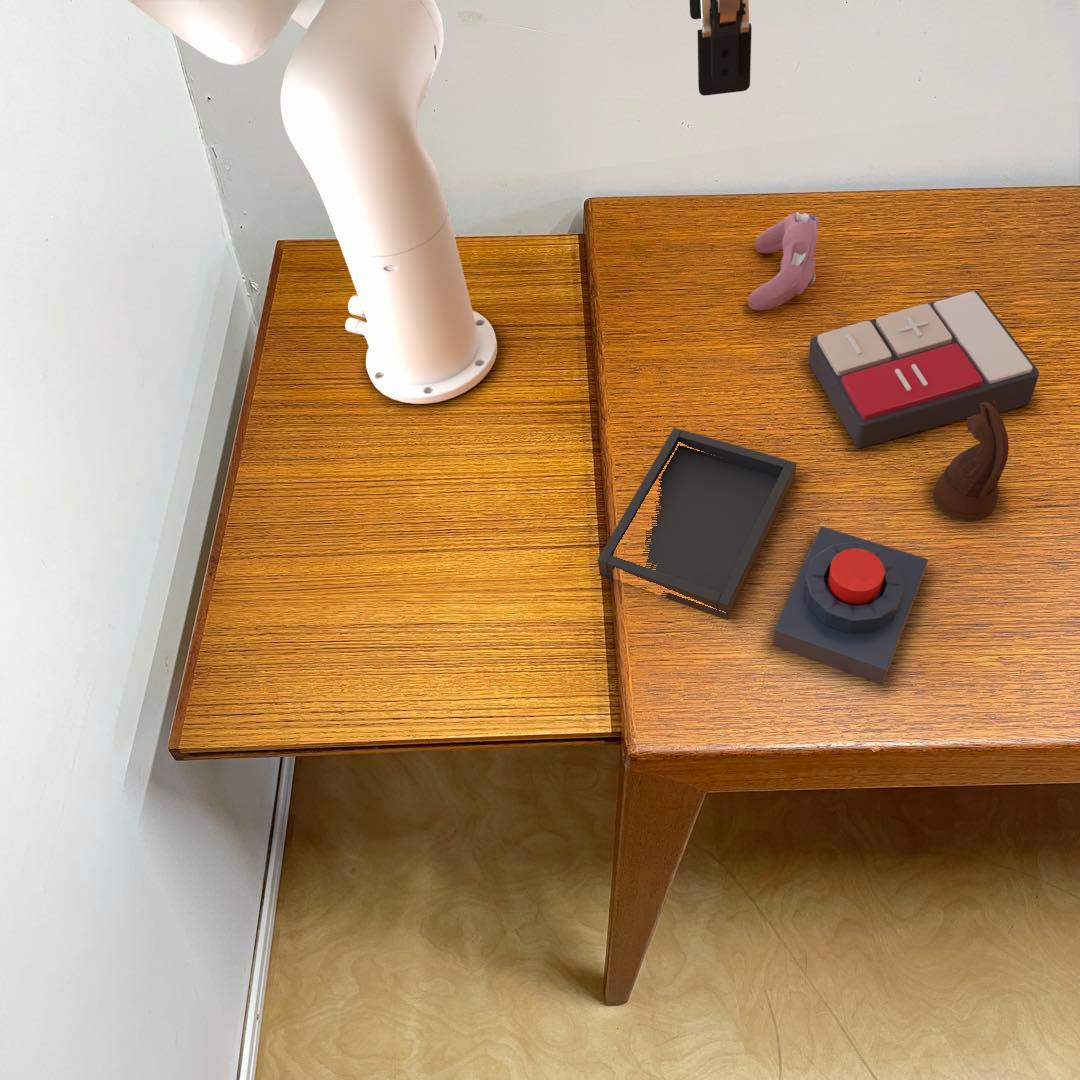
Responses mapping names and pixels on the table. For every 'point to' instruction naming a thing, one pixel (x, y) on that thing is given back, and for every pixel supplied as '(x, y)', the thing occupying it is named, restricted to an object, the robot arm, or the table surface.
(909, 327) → the calculator
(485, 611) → the table surface
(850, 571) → the button
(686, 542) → the tray
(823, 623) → the button base
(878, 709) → the table surface
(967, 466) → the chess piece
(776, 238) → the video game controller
